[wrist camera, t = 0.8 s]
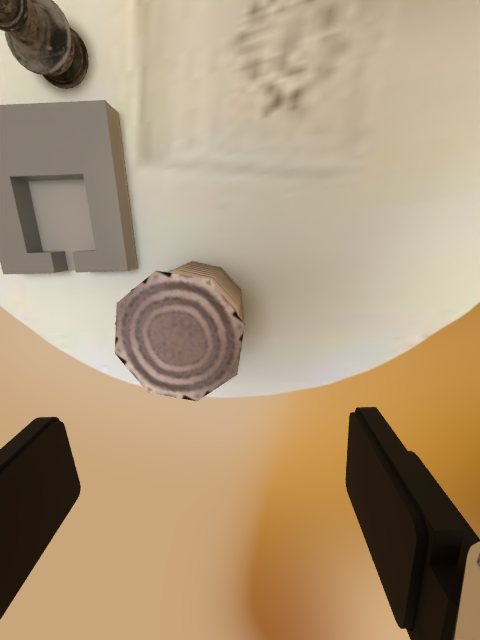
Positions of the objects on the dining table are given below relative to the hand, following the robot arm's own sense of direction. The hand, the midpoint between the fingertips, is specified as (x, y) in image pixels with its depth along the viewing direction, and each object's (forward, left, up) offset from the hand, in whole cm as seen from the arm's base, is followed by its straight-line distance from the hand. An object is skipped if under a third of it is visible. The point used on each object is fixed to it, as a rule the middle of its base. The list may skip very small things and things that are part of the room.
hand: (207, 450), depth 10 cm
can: (+2, -5, -28) cm, 28 cm away
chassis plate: (-11, -19, -27) cm, 35 cm away
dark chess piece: (-24, -17, -27) cm, 40 cm away
